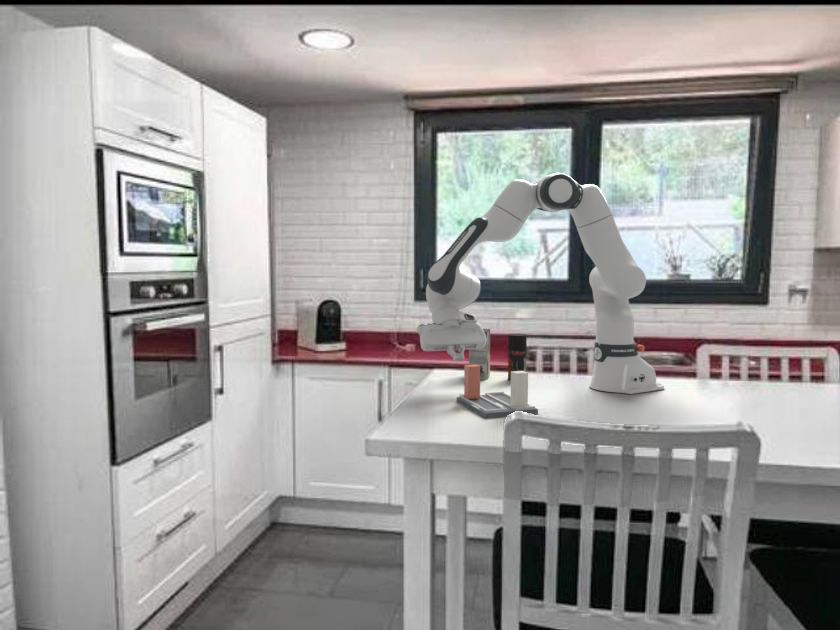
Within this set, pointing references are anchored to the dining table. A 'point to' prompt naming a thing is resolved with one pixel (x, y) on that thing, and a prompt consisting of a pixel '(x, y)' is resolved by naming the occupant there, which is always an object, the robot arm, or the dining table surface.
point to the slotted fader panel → (493, 405)
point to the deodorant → (516, 353)
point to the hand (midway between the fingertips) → (459, 359)
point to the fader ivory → (519, 388)
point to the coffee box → (482, 357)
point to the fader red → (471, 381)
